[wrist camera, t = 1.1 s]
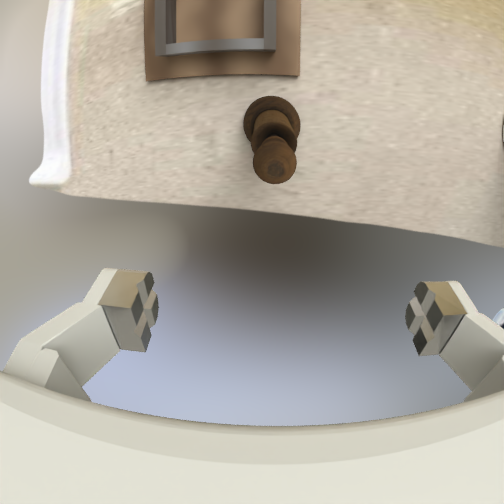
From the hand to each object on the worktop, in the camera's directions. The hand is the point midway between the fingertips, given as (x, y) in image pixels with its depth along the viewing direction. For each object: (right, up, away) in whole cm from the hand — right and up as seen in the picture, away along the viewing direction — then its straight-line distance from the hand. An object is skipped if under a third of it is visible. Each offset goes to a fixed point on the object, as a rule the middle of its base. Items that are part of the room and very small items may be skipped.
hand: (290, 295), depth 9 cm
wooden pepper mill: (+1, +17, +25) cm, 31 cm away
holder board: (-5, +29, +17) cm, 34 cm away
